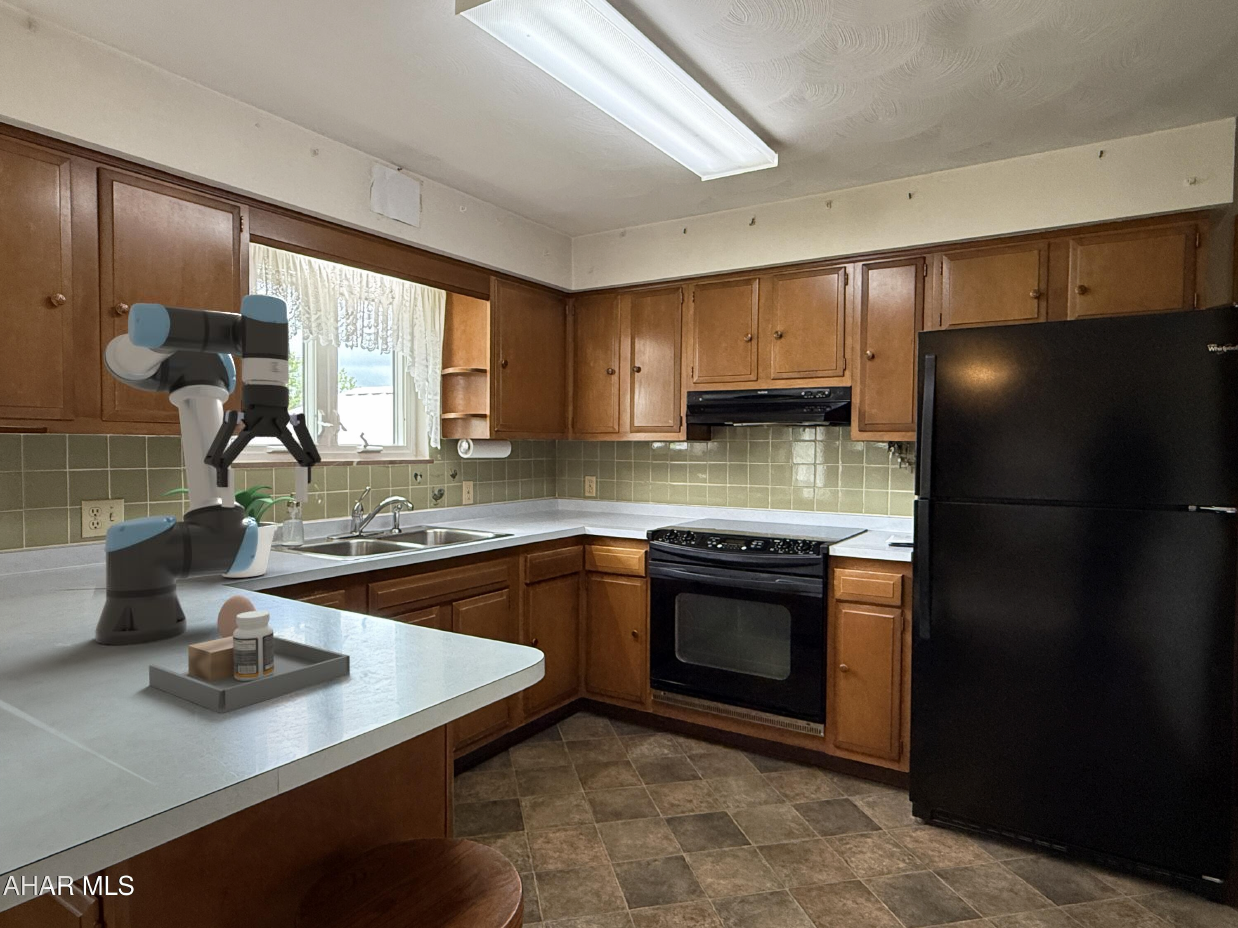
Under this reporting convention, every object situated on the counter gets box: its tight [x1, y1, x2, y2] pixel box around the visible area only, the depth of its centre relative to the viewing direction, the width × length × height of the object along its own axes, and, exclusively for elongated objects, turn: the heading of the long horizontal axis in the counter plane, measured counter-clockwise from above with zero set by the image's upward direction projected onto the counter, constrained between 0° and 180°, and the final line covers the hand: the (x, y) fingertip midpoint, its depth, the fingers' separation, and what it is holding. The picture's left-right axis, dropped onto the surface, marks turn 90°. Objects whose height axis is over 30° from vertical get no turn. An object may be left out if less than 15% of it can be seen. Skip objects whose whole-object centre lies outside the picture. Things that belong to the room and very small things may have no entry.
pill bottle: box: [233, 610, 275, 681], centre depth 114 cm, size 6×6×10 cm
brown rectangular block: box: [187, 636, 234, 682], centre depth 118 cm, size 7×10×4 cm
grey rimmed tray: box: [148, 636, 351, 714], centre depth 115 cm, size 21×21×3 cm
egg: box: [216, 594, 257, 638], centre depth 136 cm, size 7×7×9 cm
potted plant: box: [160, 484, 295, 578], centre depth 207 cm, size 32×35×26 cm
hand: (266, 504), depth 129 cm, fingers open, 13 cm apart
